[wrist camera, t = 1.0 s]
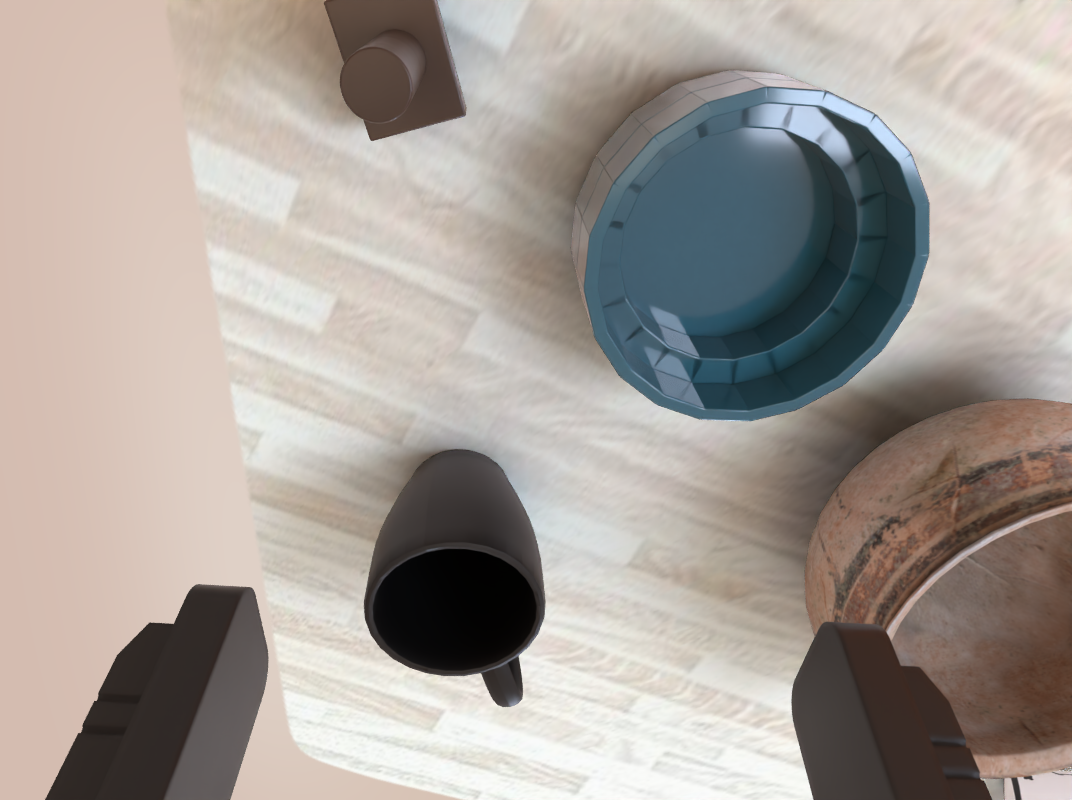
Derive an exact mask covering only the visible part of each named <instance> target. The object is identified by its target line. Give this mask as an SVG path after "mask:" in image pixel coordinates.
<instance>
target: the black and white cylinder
mask: <svg viewBox="0 0 1072 800" xmlns="http://www.w3.org/2000/svg"><path fill="white" fill-rule="evenodd" d="M1003 781H1004V800H1072V772H1068V771H1059V770H1058V771H1055V772H1049V773H1044V774H1038V775H1032V776H1027V777H1016V778H1004V779H1003Z"/></svg>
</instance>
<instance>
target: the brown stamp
mask: <svg viewBox="0 0 1072 800" xmlns="http://www.w3.org/2000/svg"><path fill="white" fill-rule="evenodd" d="M324 5H325V8H326V11H327V14H328V16H329V19H330V22H331V25H332V28H333V31H334V34H335V37H336V40H337V43H338V46H339V49H340V52H341V55H342V58H343V61H344V65H343V68H342V70H341V75H340V88H341V93H342V96H343V98H344V101H345V102H346V104H347V106H348V107H349V108H350V109H351V111H352V112H353V113H355V114H356V115H357V116H358V117H360V118H362V119H363V120H364V123H365V126H366V129H367V132H368V135H369V138H370V140H371V141H374V140H378V139H382V138H385V137H389V136H393V135H397V134H400V133H404V132H408V131H411V130H415V129H419V128H423V127H426V126H430V125H434V124H437V123H441V122H445V121H449V120H452V119H456V118H460V117H463V116H465V115H466V105H465V101H464V97H463V94H462V90H461V86H460V83H459V79H458V76H457V72H456V68H455V65H454V61H453V57H452V54H451V50H450V46H449V43H448V39H447V35H446V32H445V28H444V24H443V21H442V17H441V13H440V10H439V6H438V2H437V0H326V1H325V2H324Z"/></svg>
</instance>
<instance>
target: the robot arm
mask: <svg viewBox="0 0 1072 800" xmlns="http://www.w3.org/2000/svg"><path fill="white" fill-rule="evenodd" d="M267 672H268V649H267V644H266V640H265V636H264V631H263V627H262V622H261V618H260V613H259V609H258V604H257V600H256V595H255V592H254V590H253V589H252V588H250V587H236V586H219V585H201V584H198V585H195V586H194V587H192V589H191V590H190V591H189V593H188V594H187V596H186V599H185V600H184V603H183V605H182V607H181V609H180V611H179V614H178V616H177V618H176V620H175V623H174V624H165V623H149V624H148V625H147V626H146V627H145V628H144V629H143V630H142V631H141V632H140V633H139V634H138V635H137V636H136V637H135V638H134V639H133V640H132V641H131V642H130V643H129V644H128V645H127V646H126V647H125V648H124V649H123V650H122V651H121V652H120V653H119V654H118V655H117V657H116V659H115V661H114V663H113V665H112V667H111V669H110V671H109V673H108V675H107V677H106V679H105V681H104V683H103V685H102V687H101V689H100V691H99V693H98V695H99V696H98V700H97V701H94V703H93V705H92V707H91V709H90V711H89V713H88V715H87V717H86V719H85V721H84V723H83V729H82V732H81V733H78V735H77V737H76V739H75V741H74V743H73V745H72V747H71V749H70V751H69V754H68V755H67V757H66V759H65V761H64V763H63V765H62V767H61V769H60V771H59V773H58V775H57V777H56V780H55V781H54V783H53V785H52V787H51V789H50V791H49V793H48V795H47V797H46V799H45V800H230V799H231V795H232V792H233V789H234V786H235V783H236V780H237V776H238V773H239V770H240V767H241V764H242V761H243V757H244V754H245V751H246V748H247V744H248V742H249V738H250V735H251V732H252V729H253V726H254V722H255V719H256V716H257V713H258V709H259V706H260V703H261V700H262V697H263V694H264V690H265V685H266V680H267ZM792 716H793V722H794V727H795V730H796V734H797V738H798V742H799V746H800V749H801V753H802V757H803V761H804V765H805V769H806V772H807V776H808V780H809V784H810V788H811V791H812V795H813V799H814V800H992V798H991V796H990V793H989V791H988V789H987V787H986V784H985V782H984V781H981V779H980V771H979V768H978V766H977V764H976V762H975V759H974V757H973V755H972V752H971V750H970V748H967V747H966V739H965V737H964V734H963V732H962V730H961V727H960V725H959V723H958V721H957V718H956V716H955V714H954V712H953V709H952V707H951V705H950V702H949V701H948V700H947V698H946V697H945V696H944V695H943V694H942V692H941V691H940V690H939V689H938V688H937V687H936V685H935V684H934V683H933V682H932V681H931V680H930V678H929V677H928V676H927V675H926V674H925V673H924V671H923V670H922V669H921V668H920V667H917V666H901V665H900V662H899V660H898V657H897V655H896V652H895V650H894V647H893V645H892V642H891V640H890V638H889V636H888V634H887V632H886V631H885V630H884V629H883V627H881V626H880V625H877V624H861V623H843V622H824V623H823V624H822V625H821V626H820V627H819V629H818V631H817V634H816V636H815V638H814V640H813V642H812V644H811V646H810V648H809V651H808V653H807V655H806V657H805V659H804V661H803V663H802V665H801V668H800V670H799V672H798V674H797V676H796V678H795V681H794V684H793V689H792Z"/></svg>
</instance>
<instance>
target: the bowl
mask: <svg viewBox="0 0 1072 800" xmlns="http://www.w3.org/2000/svg"><path fill="white" fill-rule="evenodd" d="M571 253H572V258H573V262H574V266H575V271H576V275H577V279H578V284H579V288H580V292H581V296H582V299H583V302H584V305H585V309H586V312H587V315H588V318H589V322H590V325H591V328H592V331H593V334H594V337H595V339H596V341H597V342H598V344H599V345H600V347H601V349H602V350H603V352H604V353H605V355H606V356H607V358H608V359H609V361H610V363H611V364H612V366H613V367H614V369H615V370H616V372H617V373H618V375H619V376H620V377H621V378H622V379H623V380H625V381H626V382H627V383H629V384H630V385H631V386H633V387H634V388H635V389H636V390H638V391H639V392H640V393H642V394H643V395H644V396H646V397H647V398H648V399H650V400H651V401H652V402H653V403H655V404H657V405H659V406H662V407H665V408H668V409H670V410H673V411H676V412H679V413H682V414H685V415H688V416H691V417H694V418H697V419H701V420H723V421H753V420H757V419H762V418H766V417H770V416H774V415H778V414H782V413H787V412H791V411H795V410H797V409H800V408H802V407H804V406H805V405H807V404H809V403H811V402H813V401H815V400H817V399H819V398H821V397H822V396H824V395H826V394H828V393H830V392H832V391H834V390H836V389H838V388H839V387H841V386H843V385H844V384H846V383H847V382H848V381H849V380H850V379H851V378H852V377H853V376H855V375H856V374H857V373H858V372H859V371H860V370H861V369H862V368H863V367H865V366H866V365H867V364H868V363H869V362H870V361H871V360H872V359H873V358H875V357H876V356H877V355H878V354H879V353H880V352H881V351H882V349H884V348H885V346H886V345H887V343H888V342H889V340H890V339H891V337H892V336H893V334H894V333H895V331H896V330H897V328H898V327H899V325H900V324H901V322H902V321H903V319H904V318H905V316H906V315H907V313H908V312H909V310H910V309H911V307H912V305H913V303H914V300H915V297H916V294H917V291H918V288H919V284H920V281H921V278H922V275H923V272H924V269H925V266H926V263H927V260H928V257H929V255H928V254H929V200H928V197H927V194H926V192H925V189H924V186H923V183H922V181H921V178H920V175H919V173H918V170H917V167H916V164H915V162H914V159H913V156H912V154H911V152H910V151H909V150H908V149H907V147H906V146H905V145H904V144H903V143H902V142H901V141H900V140H899V139H898V138H897V136H896V135H895V134H894V133H893V132H892V131H891V130H890V129H889V128H888V127H887V125H886V124H885V123H884V122H883V121H882V120H881V119H880V118H879V117H878V116H877V115H876V114H875V113H873V112H871V111H869V110H867V109H865V108H862V107H860V106H858V105H856V104H854V103H852V102H850V101H848V100H846V99H843V98H841V97H839V96H837V95H835V94H833V93H831V92H829V91H826V90H823V89H821V88H818V87H815V86H812V85H810V84H807V83H804V82H801V81H799V80H796V79H793V78H791V77H788V76H785V75H782V74H778V73H764V72H751V71H737V70H730V71H729V70H726V71H722V72H719V73H715V74H711V75H708V76H704V77H700V78H696V79H693V80H689V81H685V82H681V83H678V84H676V85H674V86H672V87H671V88H669V89H668V90H666V91H665V92H663V93H662V94H660V95H658V96H657V97H655V98H654V99H652V100H651V101H649V102H648V103H646V104H644V105H643V106H641V107H640V108H638V109H637V110H635V111H634V112H632V113H631V114H630V115H629V116H628V117H627V119H626V120H625V121H624V122H623V123H622V124H621V126H620V127H619V128H618V129H617V130H616V132H615V133H614V134H613V135H612V136H611V137H610V139H609V140H608V141H607V142H606V143H605V145H604V146H603V147H602V148H601V149H600V150H599V152H598V153H597V156H595V158H594V160H593V163H592V165H591V167H590V170H589V172H588V174H587V177H586V179H585V181H584V184H583V186H582V188H581V191H580V193H579V195H578V198H577V200H576V203H575V212H574V222H573V232H572V242H571Z"/></svg>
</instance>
